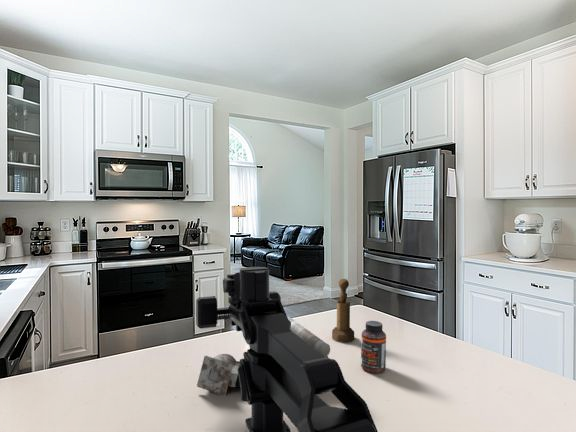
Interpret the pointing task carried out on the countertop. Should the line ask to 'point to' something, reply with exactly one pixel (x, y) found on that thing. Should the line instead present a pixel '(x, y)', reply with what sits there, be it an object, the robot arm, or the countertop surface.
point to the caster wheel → (219, 374)
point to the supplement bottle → (373, 348)
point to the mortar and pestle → (343, 316)
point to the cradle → (310, 338)
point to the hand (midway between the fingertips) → (229, 301)
